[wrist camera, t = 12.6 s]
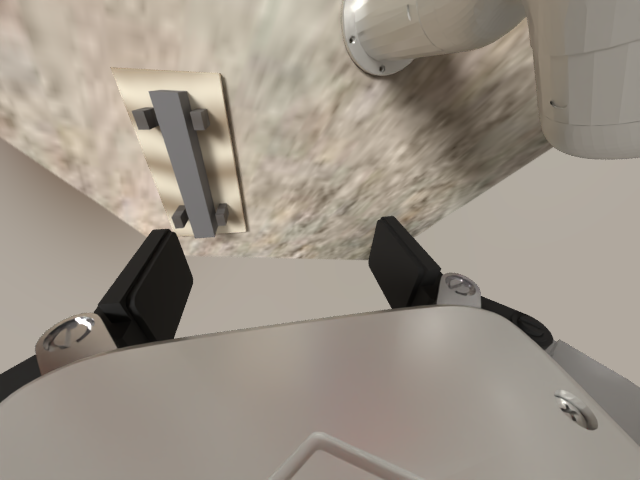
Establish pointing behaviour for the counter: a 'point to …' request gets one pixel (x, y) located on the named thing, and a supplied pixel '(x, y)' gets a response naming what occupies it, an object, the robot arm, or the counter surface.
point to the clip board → (211, 136)
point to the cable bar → (186, 159)
